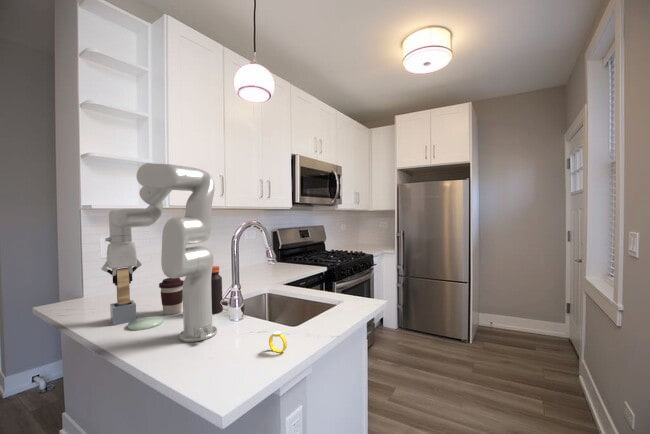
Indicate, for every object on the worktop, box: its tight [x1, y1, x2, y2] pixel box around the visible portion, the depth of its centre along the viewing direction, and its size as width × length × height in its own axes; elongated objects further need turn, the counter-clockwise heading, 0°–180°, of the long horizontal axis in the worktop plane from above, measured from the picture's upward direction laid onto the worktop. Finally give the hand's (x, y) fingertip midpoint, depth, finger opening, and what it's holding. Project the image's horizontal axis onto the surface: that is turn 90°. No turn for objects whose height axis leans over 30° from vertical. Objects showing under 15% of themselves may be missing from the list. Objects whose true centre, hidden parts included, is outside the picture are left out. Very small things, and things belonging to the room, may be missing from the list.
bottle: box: [211, 265, 224, 315], centre depth 135 cm, size 7×7×20 cm
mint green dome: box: [127, 315, 164, 331], centre depth 121 cm, size 12×12×1 cm
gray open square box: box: [109, 299, 137, 326], centre depth 127 cm, size 8×8×7 cm
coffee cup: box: [158, 277, 184, 316], centre depth 136 cm, size 10×10×15 cm
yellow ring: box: [268, 330, 288, 354], centre depth 95 cm, size 6×3×6 cm, turn 61°
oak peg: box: [116, 267, 131, 305], centre depth 126 cm, size 4×4×14 cm
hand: (122, 283), depth 126 cm, fingers closed on oak peg, 4 cm apart
